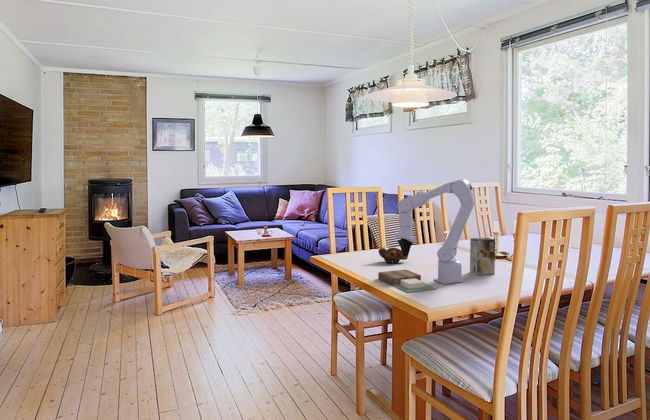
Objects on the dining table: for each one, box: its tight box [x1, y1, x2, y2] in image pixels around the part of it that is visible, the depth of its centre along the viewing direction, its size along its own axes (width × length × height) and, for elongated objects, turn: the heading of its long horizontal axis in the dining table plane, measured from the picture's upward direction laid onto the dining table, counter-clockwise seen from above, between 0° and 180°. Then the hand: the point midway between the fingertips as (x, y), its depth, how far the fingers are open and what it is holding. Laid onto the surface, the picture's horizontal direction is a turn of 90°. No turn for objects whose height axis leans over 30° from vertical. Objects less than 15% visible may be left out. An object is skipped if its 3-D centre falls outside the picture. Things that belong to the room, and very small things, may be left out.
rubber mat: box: [391, 282, 438, 294], centre depth 191 cm, size 14×12×1 cm
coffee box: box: [469, 237, 496, 276], centre depth 213 cm, size 9×6×16 cm
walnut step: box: [377, 269, 422, 286], centre depth 201 cm, size 14×12×3 cm
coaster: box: [401, 278, 425, 289], centre depth 192 cm, size 7×7×2 cm
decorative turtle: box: [378, 247, 409, 265], centre depth 238 cm, size 10×15×8 cm, turn 99°
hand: (405, 256), depth 207 cm, fingers closed
